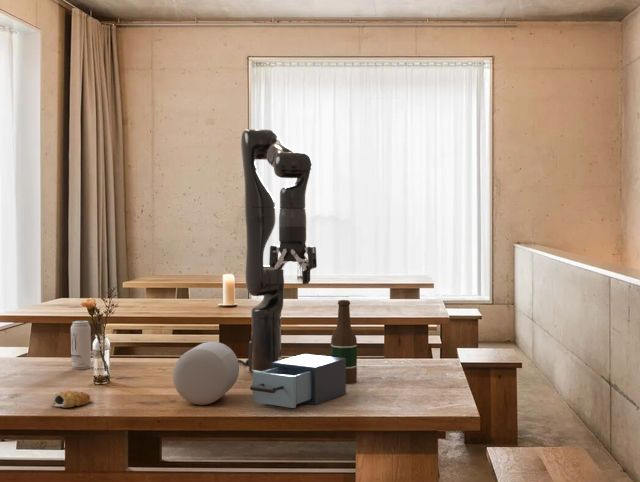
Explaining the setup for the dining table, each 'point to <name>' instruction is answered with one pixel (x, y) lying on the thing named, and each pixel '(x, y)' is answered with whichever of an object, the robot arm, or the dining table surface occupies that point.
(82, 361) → the energy drink can
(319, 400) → the cabinet
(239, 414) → the dining table surface
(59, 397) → the pastry
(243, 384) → the dining table surface
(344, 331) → the beer bottle
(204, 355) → the grey rounded piece
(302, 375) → the drawer
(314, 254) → the robot arm
